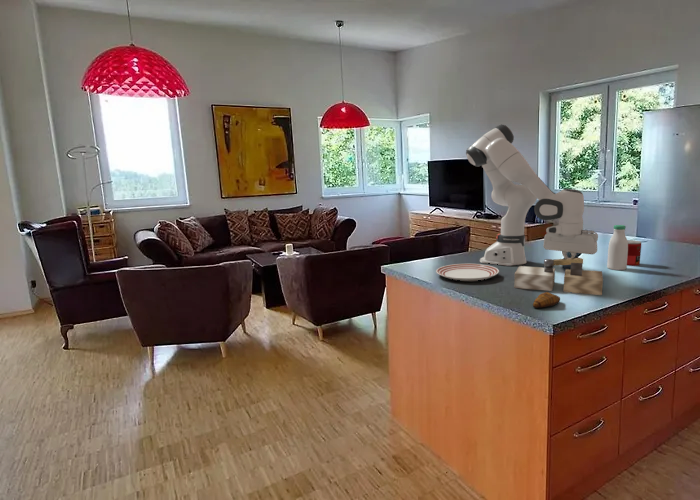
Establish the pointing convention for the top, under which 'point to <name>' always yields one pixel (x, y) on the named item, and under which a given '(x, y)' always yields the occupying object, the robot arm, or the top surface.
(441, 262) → the top surface
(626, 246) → the milk bottle
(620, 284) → the top surface
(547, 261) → the latch bar
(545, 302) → the croissant
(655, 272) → the top surface
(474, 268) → the dinner plate
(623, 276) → the top surface
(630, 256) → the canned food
